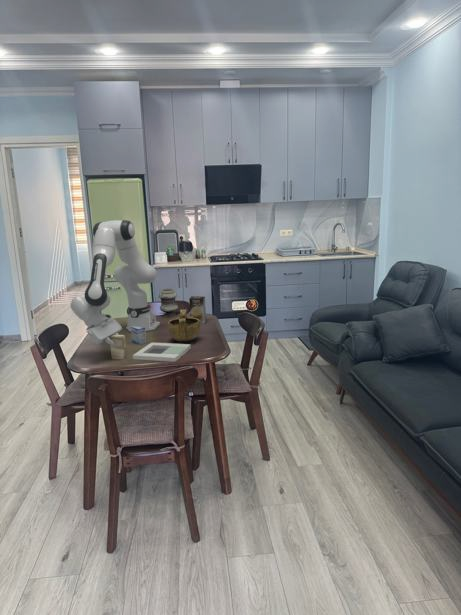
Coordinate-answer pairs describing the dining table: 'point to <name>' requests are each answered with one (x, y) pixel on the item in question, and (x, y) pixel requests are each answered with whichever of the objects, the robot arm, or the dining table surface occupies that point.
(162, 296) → the apothecary jar
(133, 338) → the medicine box
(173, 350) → the hole board
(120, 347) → the birch block
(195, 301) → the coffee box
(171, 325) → the ceramic bowl
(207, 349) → the dining table surface
